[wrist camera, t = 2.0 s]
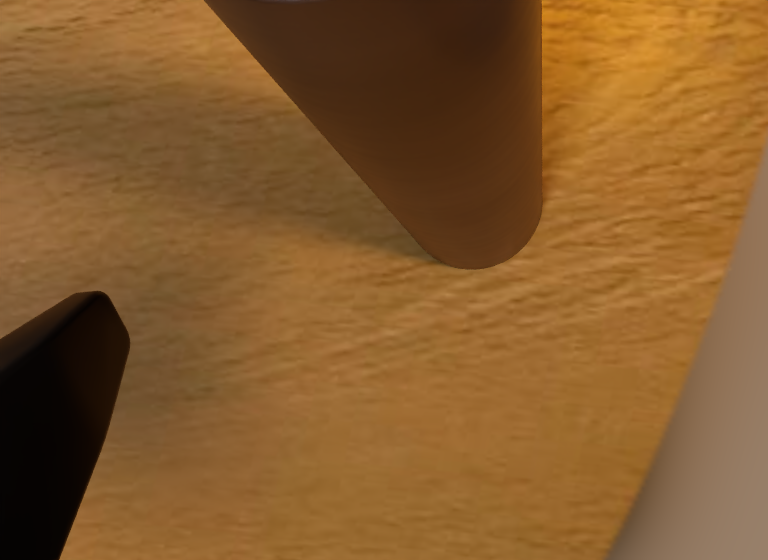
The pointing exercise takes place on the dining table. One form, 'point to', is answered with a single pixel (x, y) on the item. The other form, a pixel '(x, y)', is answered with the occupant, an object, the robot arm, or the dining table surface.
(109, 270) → the dining table surface
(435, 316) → the dining table surface
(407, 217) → the dowel
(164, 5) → the dining table surface
